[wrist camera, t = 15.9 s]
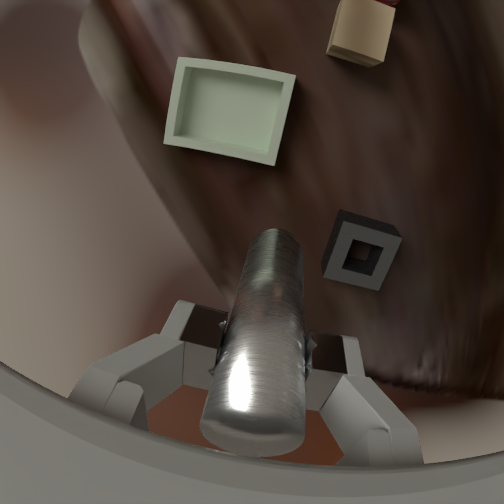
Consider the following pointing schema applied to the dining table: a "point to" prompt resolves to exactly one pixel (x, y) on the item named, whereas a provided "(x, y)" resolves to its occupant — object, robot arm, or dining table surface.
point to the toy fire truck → (388, 2)
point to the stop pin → (262, 355)
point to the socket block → (358, 270)
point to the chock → (361, 32)
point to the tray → (228, 109)
